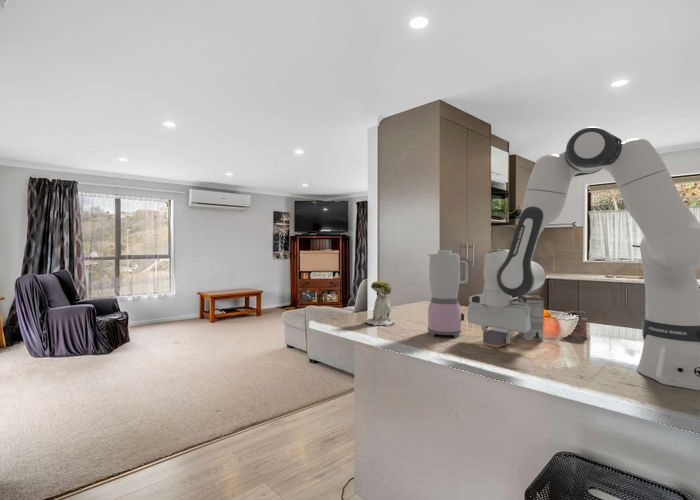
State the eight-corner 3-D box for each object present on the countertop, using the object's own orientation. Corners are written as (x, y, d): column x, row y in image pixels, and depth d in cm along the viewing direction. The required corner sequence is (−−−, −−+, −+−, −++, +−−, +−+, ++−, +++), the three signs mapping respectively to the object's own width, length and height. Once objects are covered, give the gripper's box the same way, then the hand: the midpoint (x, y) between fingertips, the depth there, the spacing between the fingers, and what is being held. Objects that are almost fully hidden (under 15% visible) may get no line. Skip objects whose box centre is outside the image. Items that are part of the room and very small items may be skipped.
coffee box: (517, 337, 136) (518, 294, 136) (536, 338, 135) (536, 294, 135) (524, 344, 127) (524, 297, 127) (544, 345, 126) (544, 298, 126)
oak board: (551, 354, 116) (552, 349, 116) (533, 364, 106) (533, 358, 106) (485, 340, 132) (485, 336, 132) (464, 348, 123) (464, 343, 123)
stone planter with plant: (364, 320, 167) (364, 279, 167) (393, 320, 167) (393, 279, 167) (365, 326, 155) (365, 282, 155) (396, 326, 155) (396, 282, 155)
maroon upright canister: (563, 339, 134) (564, 311, 134) (560, 336, 138) (561, 309, 137) (588, 340, 132) (589, 312, 132) (585, 338, 136) (585, 310, 136)
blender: (428, 337, 136) (428, 250, 136) (426, 330, 148) (426, 250, 148) (472, 339, 134) (473, 250, 133) (467, 331, 146) (467, 250, 145)
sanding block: (510, 342, 123) (511, 330, 123) (497, 347, 117) (498, 335, 117) (496, 339, 126) (496, 328, 126) (483, 344, 120) (483, 332, 120)
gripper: (534, 302, 116) (533, 346, 116) (474, 295, 131) (474, 334, 131) (525, 304, 111) (525, 350, 112) (464, 296, 127) (464, 337, 127)
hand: (497, 341), depth 121 cm, fingers closed on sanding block, 5 cm apart
